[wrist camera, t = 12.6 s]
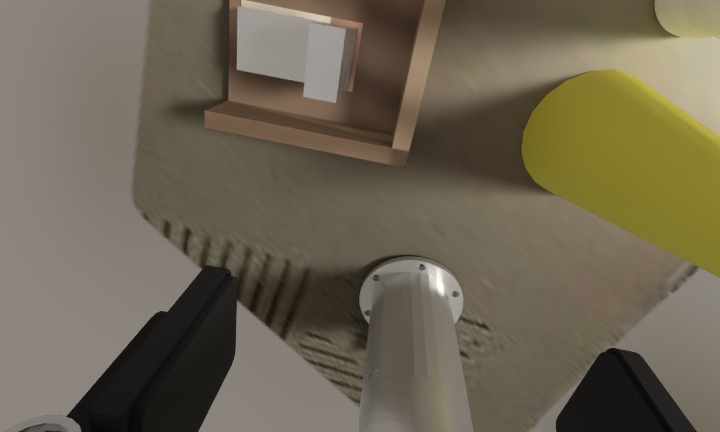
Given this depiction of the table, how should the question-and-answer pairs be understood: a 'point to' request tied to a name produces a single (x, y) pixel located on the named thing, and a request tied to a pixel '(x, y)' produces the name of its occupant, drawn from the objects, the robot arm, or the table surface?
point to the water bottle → (689, 17)
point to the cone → (630, 162)
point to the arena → (367, 87)
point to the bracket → (297, 51)
